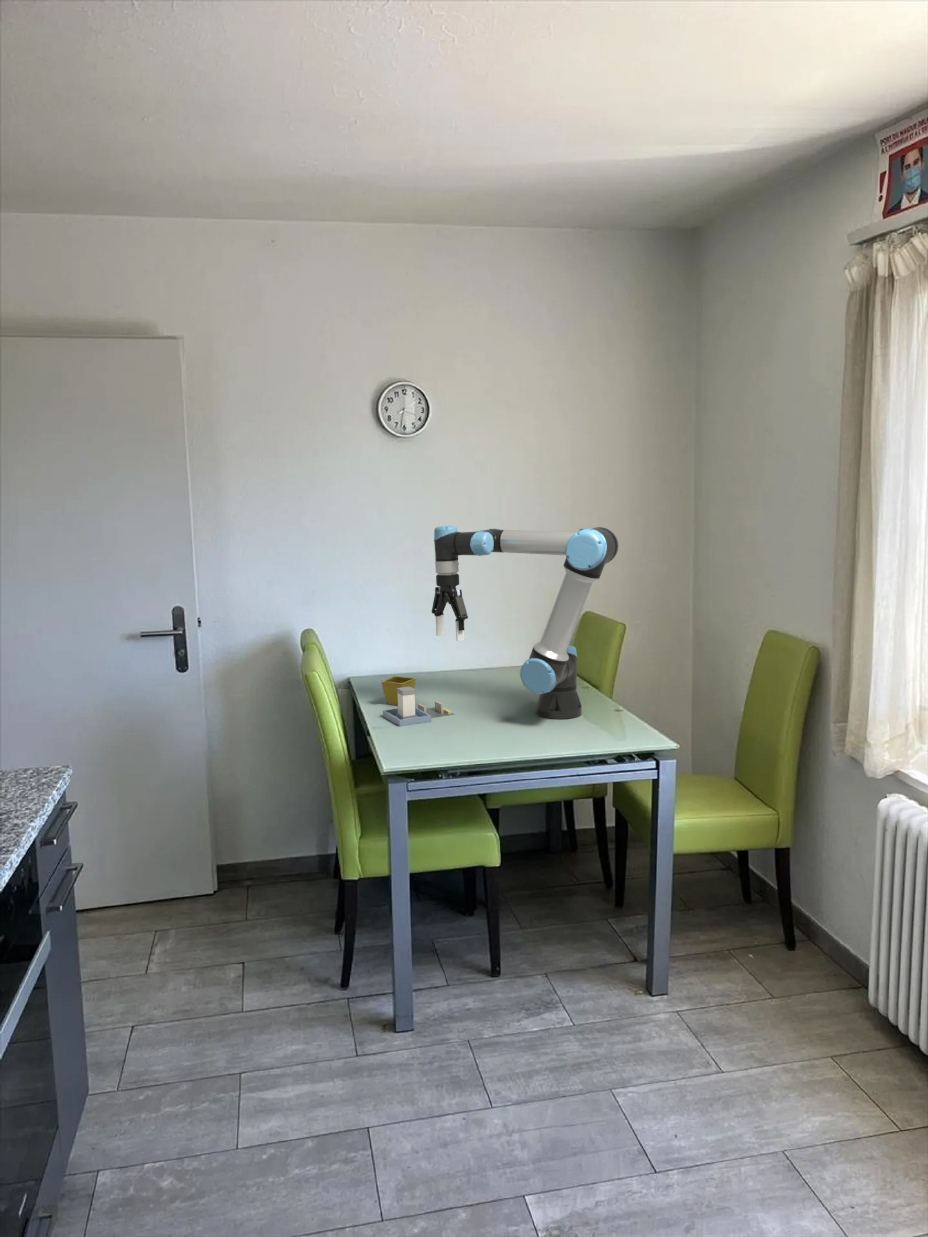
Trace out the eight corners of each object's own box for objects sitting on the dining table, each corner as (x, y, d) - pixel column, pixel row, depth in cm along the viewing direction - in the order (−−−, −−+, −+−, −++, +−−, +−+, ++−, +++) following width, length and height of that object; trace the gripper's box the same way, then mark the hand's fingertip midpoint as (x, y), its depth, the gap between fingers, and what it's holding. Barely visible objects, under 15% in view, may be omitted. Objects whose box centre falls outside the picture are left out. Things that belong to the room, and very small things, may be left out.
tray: (431, 723, 292) (431, 715, 291) (399, 728, 287) (399, 720, 287) (413, 713, 304) (413, 706, 304) (382, 717, 299) (382, 710, 299)
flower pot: (381, 706, 314) (380, 681, 313) (395, 700, 322) (394, 675, 320) (403, 709, 310) (402, 683, 309) (416, 703, 318) (416, 678, 316)
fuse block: (454, 715, 300) (454, 705, 300) (427, 720, 296) (427, 709, 295) (439, 707, 311) (438, 697, 310) (412, 711, 306) (412, 701, 306)
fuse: (416, 719, 294) (415, 689, 293) (403, 721, 292) (402, 691, 291) (410, 716, 298) (409, 686, 297) (397, 718, 296) (396, 688, 295)
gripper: (476, 575, 288) (479, 641, 291) (439, 570, 309) (442, 631, 312) (456, 577, 284) (459, 644, 287) (419, 572, 306) (422, 634, 309)
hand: (450, 637), depth 300 cm, fingers open, 13 cm apart
